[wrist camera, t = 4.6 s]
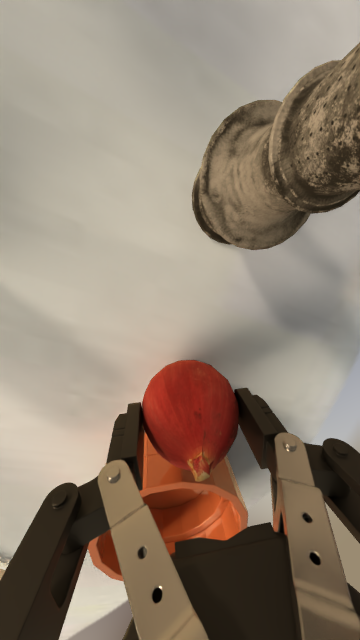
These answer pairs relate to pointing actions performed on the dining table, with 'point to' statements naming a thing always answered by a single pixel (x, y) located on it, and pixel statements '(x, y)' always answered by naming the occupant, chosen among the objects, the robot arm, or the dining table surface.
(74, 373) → the dining table surface
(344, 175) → the pawn-shaped pepper mill
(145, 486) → the bowl
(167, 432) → the onion
